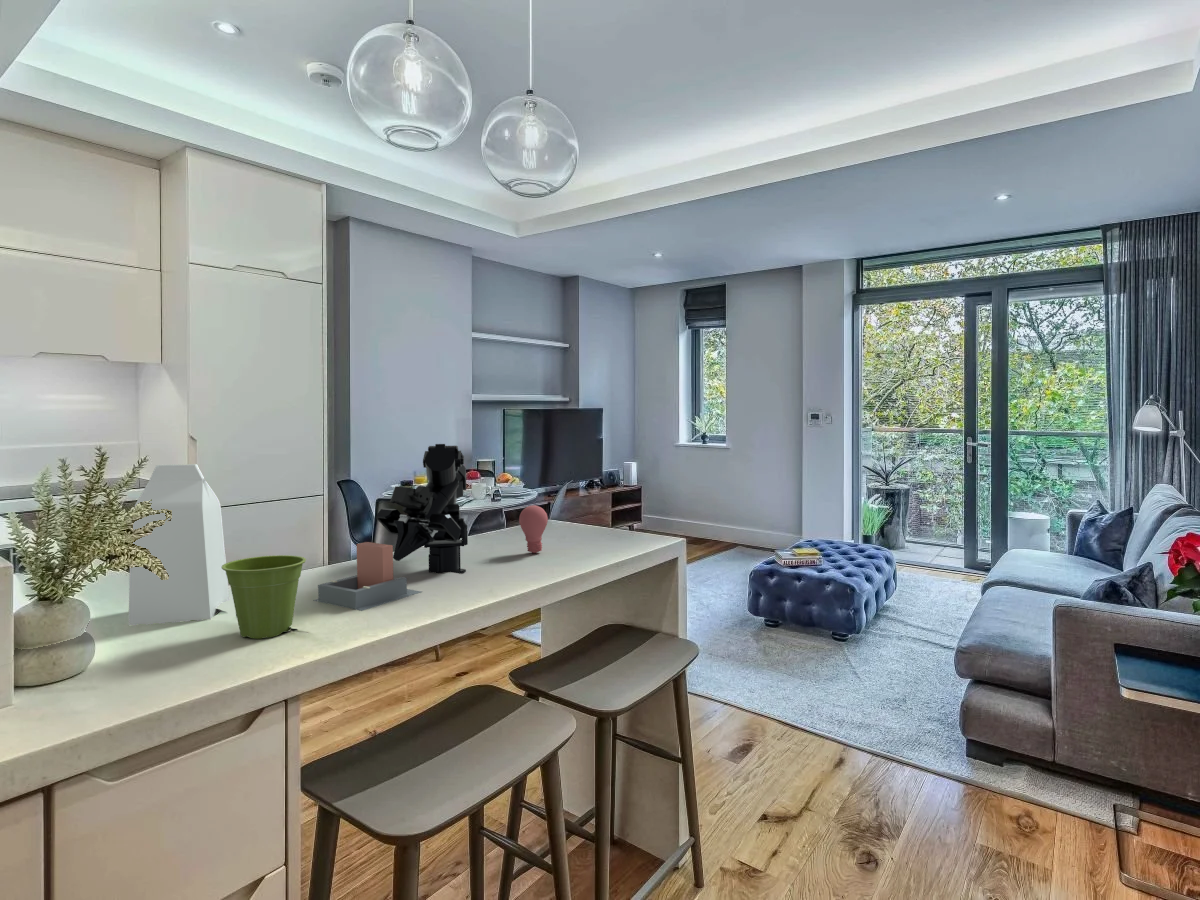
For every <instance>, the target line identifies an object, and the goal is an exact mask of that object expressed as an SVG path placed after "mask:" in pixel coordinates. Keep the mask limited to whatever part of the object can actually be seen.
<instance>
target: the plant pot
mask: <svg viewBox="0 0 1200 900" xmlns="http://www.w3.org/2000/svg"><path fill="white" fill-rule="evenodd" d="M306 561H307V559H306V558H305V557H304V556H298V555H290V554H289V555H288V554H287V555H286V554H285V555H284V554H282V555H280V554H279V555H263V556H260V555H259V556H253V557H246V558H241V559H236V560H232V561H229V562H226V564H224V565H222V569H223V570H225V571H226V575H227V579H228V585H230V591H231V595H232V600H233V604H234V610H235V614H236V615H235V616H236V620H237V624H238V629H239V634H240V636H241V637H243V638H247V637H248V638H250V639H256V640H260V639H264V638H273V637H277V636H279V635H281V634H282V633H288V632H289V631H291V629H292V627H291V626H292V625H293V619H294V612H295V606H296V600H297V599H296V598H297V593H298V586H299V580H300V577H301V575H302V570H303V565H304V564H305V563H306Z"/></svg>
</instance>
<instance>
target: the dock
mask: <svg viewBox="0 0 1200 900" xmlns="http://www.w3.org/2000/svg"><path fill="white" fill-rule="evenodd" d="M407 587H408V582H407V577H403V576H402V577H397V578H393V580H390V581H386V582H382V583H379V584H375V585H372V586H368V587H367V586H363V588H361V589H358V585H357V574H355V575H351V576H348V577H343V578H340V579H337V580H334V579H333V580H332V579H330V581H328V582H324V583H321V584H320V583H319V584H318V585H317V593H318V594H317V596H318V597H317V599H313V602H318V603H324V604H328V605H332V606H337V607H342V608H347V609H351V610H355V611H361V612H363V611H366V610H370V609H372V608H376V607H379V606H381V605H386V604H389V603H391V602H395V601H398V600H401V599H404V598H408V597H411V596H415V595H417V594H421V593H423V591H420V590H417V589H415V590H414V589H411V588H407Z"/></svg>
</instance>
